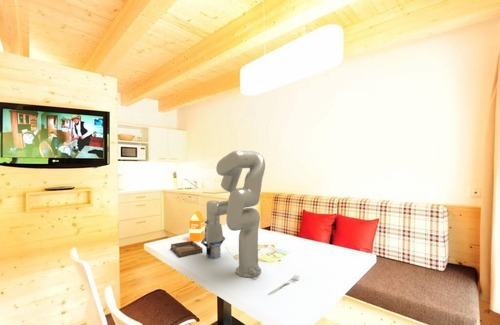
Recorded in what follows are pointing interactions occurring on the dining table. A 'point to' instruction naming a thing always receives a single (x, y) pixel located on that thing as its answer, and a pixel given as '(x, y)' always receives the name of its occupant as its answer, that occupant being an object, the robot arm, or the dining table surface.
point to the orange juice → (197, 227)
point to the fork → (283, 285)
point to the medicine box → (214, 250)
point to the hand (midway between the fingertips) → (213, 253)
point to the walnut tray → (186, 248)
